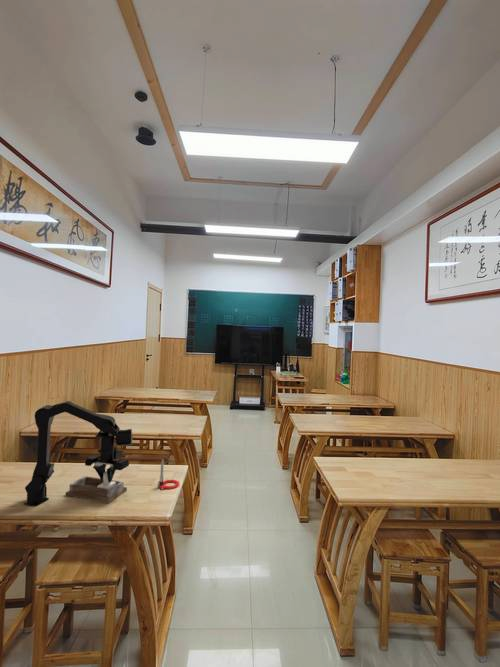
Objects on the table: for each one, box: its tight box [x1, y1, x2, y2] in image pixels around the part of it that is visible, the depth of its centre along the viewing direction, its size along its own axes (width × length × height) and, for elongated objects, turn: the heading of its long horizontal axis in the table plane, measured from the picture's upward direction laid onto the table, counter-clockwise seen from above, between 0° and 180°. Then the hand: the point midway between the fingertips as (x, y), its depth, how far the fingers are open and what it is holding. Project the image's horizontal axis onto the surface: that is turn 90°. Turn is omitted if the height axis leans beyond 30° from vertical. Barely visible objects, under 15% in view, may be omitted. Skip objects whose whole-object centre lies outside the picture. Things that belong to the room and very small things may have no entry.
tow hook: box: [157, 458, 180, 491], centre depth 154 cm, size 8×13×9 cm
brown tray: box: [65, 475, 128, 505], centre depth 145 cm, size 12×22×4 cm, turn 75°
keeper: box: [97, 470, 116, 489], centre depth 144 cm, size 6×5×8 cm
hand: (106, 481), depth 144 cm, fingers closed on keeper, 3 cm apart
